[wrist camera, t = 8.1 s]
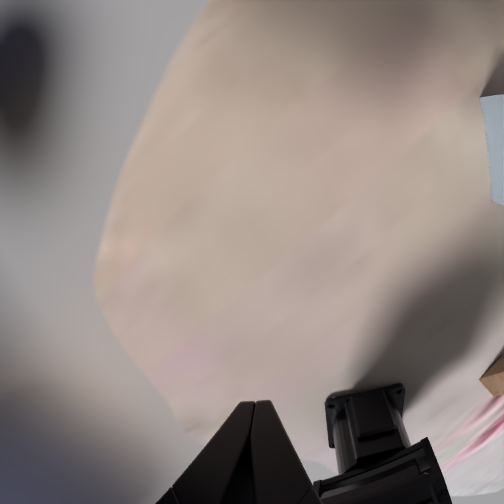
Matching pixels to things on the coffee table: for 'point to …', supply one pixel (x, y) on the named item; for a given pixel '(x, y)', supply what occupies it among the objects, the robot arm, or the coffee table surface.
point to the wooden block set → (495, 378)
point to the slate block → (495, 143)
